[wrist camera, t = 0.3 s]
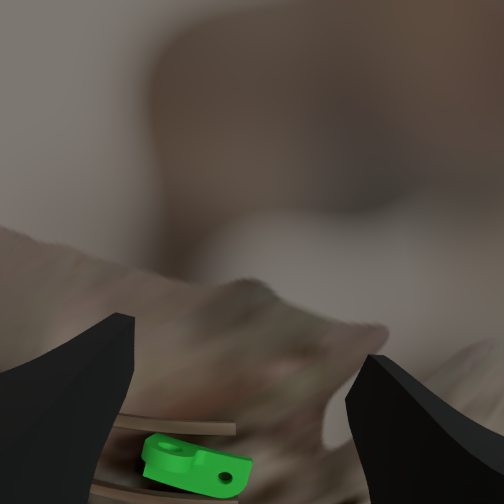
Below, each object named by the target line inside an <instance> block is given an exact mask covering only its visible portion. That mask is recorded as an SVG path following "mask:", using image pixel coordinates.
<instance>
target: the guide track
mask: <svg viewBox="0 0 504 504" xmlns="http://www.w3.org/2000/svg"><path fill="white" fill-rule="evenodd" d="M113 426H117V427H124V428H131V429H138V430H147V431H156V432H167V433H180V434H199V435H236V428H235V421H202V420H181V419H167V418H155V417H145V416H137V415H129V414H121V413H118V415H117V417H116V420H115V422H114V424H113ZM90 493H93V494H97V495H101V496H106V497H110V498H115V499H119V500H124V501H130V502H135V503H141V504H238V496H237V495H235V496H233V497H229V498H216V497H212V496H208V495H198V494H183V493H172V492H162V491H154V490H147V489H140V488H134V487H128V486H123V485H118V484H113V483H108V482H104V481H99V480H95V479H93V480H92V484H91V488H90Z"/></svg>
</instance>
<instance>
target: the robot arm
mask: <svg viewBox="0 0 504 504" xmlns="http://www.w3.org/2000/svg"><path fill="white" fill-rule="evenodd" d="M134 332H135V317H132V316H128V315H124V314H120V313H114V314H112V315H110V316H109V317H107V318H105V319H104V320H102V321H101V322H99V323H97V324H96V325H94V326H93V327H91V328H89V329H88V330H86V331H84V332H83V333H81V334H79V335H78V336H76V337H75V338H73V339H71V340H70V341H68V342H66V343H64V344H62V345H61V346H59V347H57V348H55V349H53V350H51V351H49V352H47V353H46V354H44V355H42V356H40V357H38V358H36V359H34V360H32V361H29V362H27V363H25V364H23V365H20V366H18V367H15V368H13V369H10V370H8V371H5V372H2V373H0V504H87V502H88V497H89V493H90V488H91V484H92V480H93V477H94V473H95V469H96V466H97V462H98V460H99V457H100V454H101V451H102V449H103V447H104V444H105V442H106V440H107V438H108V435H109V433H110V431H111V429H112V426H113V424H114V422H115V420H116V417H117V415H118V413H119V411H120V408H121V406H122V404H123V402H124V400H125V397H126V394H127V391H128V388H129V385H130V382H131V379H132V375H133V372H134ZM345 403H346V410H347V416H348V422H349V426H350V429H351V433H352V436H353V439H354V442H355V445H356V448H357V452H358V455H359V458H360V461H361V464H362V467H363V470H364V474H365V477H366V480H367V484H368V489H369V495H370V501H371V504H504V436H502V435H500V434H497V433H495V432H493V431H491V430H489V429H487V428H485V427H483V426H481V425H480V424H478V423H476V422H474V421H473V420H471V419H469V418H468V417H466V416H464V415H463V414H461V413H460V412H458V411H457V410H455V409H454V408H453V407H451V406H450V405H448V404H447V403H446V402H444V401H443V400H442V399H440V398H439V397H438V396H436V395H435V394H434V393H432V392H431V391H430V390H429V389H427V388H426V387H425V386H424V385H422V384H421V383H420V382H419V381H417V380H416V379H415V378H414V377H412V376H411V375H410V374H409V373H407V372H406V371H405V370H404V369H402V368H401V367H400V366H399V365H397V364H396V363H395V362H393V361H392V360H390V359H389V358H387V357H386V356H384V355H371V354H368V356H367V358H366V360H365V362H364V364H363V366H362V368H361V370H360V372H359V374H358V376H357V378H356V380H355V381H354V384H353V385H352V387H351V389H350V391H349V393H348V395H347V396H346V398H345Z"/></svg>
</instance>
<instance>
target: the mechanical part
mask: <svg viewBox="0 0 504 504" xmlns="http://www.w3.org/2000/svg"><path fill="white" fill-rule="evenodd" d="M141 457H142V459H143V460H144V461H145V462H146V465H145V469H144V473H143V476H145V477H147V478H150V479H153V480H156V481H159V482H162V483H165V484H168V485H171V486H175V487H178V488H181V489H185V490H188V491H192V492H196V493H200V494H204V495H208V496H212V497H216V498H229V497H233V496H235V495H237V494H239V493H240V492H241V491H242V490H243V489H244V488H245V486H246V484H247V481H248V477H249V474H250V470H251V467H252V463H253V461H252V458H248V457H243V456H238V455H234V454H229V453H225V452H221V451H216V450H212V449H209V448H205V447H201V446H197V445H194V444H190V443H187V442H184V441H180V440H177V439H174V438H171V437H168V436H165V435H162V434H159V433H155V434H153V435H152V436H150V437H149V438H147V439H146V440H145V443H144V447H143V451H142V455H141ZM221 472H228V473H230V474H231V475H232V478H231V479H229V480H222V479H220V478H219V477H218V475H219V474H220V473H221Z"/></svg>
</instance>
